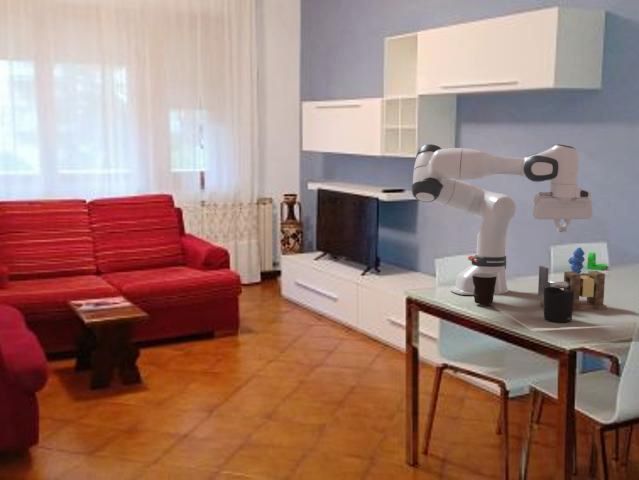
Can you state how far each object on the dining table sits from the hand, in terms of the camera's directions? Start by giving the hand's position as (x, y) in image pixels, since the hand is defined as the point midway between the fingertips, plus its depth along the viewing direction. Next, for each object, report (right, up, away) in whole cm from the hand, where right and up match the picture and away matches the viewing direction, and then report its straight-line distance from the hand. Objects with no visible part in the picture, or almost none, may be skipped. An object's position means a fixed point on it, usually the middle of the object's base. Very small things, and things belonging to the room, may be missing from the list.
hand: (561, 232), depth 249 cm
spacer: (+9, -19, +4) cm, 21 cm away
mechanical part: (+44, -17, +82) cm, 94 cm away
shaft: (+3, -22, +3) cm, 23 cm away
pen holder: (-6, -29, -14) cm, 33 cm away
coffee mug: (-24, -25, +13) cm, 37 cm away
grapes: (+29, -18, +67) cm, 75 cm away
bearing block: (+6, -26, +4) cm, 27 cm away
